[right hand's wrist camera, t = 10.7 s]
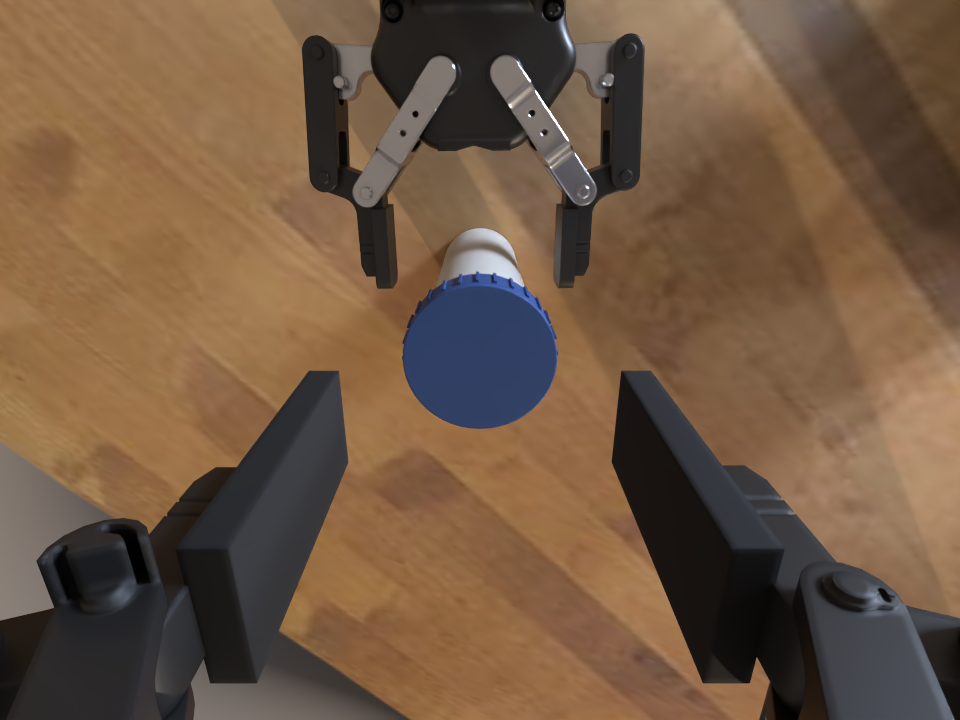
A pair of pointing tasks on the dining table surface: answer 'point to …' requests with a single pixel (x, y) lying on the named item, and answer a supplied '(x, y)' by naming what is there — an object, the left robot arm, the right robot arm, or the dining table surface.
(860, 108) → the dining table surface
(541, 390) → the lid
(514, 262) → the jar
